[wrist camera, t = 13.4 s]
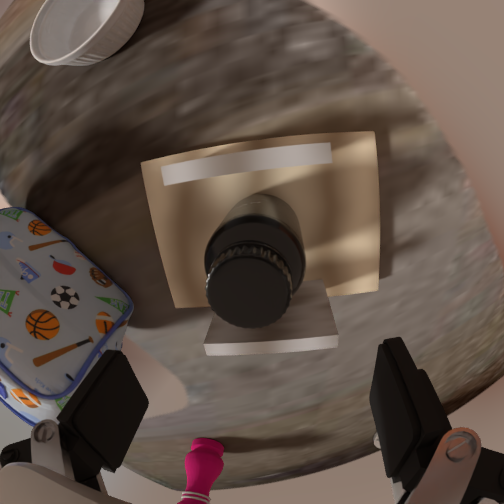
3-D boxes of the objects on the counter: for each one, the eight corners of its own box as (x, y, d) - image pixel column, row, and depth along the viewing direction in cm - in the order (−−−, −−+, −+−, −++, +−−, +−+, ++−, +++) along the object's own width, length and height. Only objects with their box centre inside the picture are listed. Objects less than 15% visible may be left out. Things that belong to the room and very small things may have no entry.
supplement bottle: (248, 178, 24) (223, 206, 13) (313, 217, 25) (339, 274, 14) (213, 240, 27) (169, 307, 16) (274, 275, 28) (270, 359, 16)
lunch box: (7, 245, 33) (-86, 306, 12) (13, 188, 29) (-102, 238, 8) (133, 341, 36) (57, 465, 15) (155, 288, 32) (49, 436, 12)
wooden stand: (367, 132, 24) (420, 126, 13) (372, 281, 29) (408, 343, 19) (149, 161, 26) (84, 174, 16) (180, 299, 32) (144, 361, 22)
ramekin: (140, -33, 17) (115, -57, 11) (169, 30, 21) (141, 5, 15) (58, 26, 20) (26, 15, 14) (76, 93, 24) (37, 89, 18)
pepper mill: (234, 449, 44) (219, 536, 26) (209, 455, 46) (191, 534, 28) (207, 433, 43) (184, 526, 24) (183, 440, 45) (158, 523, 26)
